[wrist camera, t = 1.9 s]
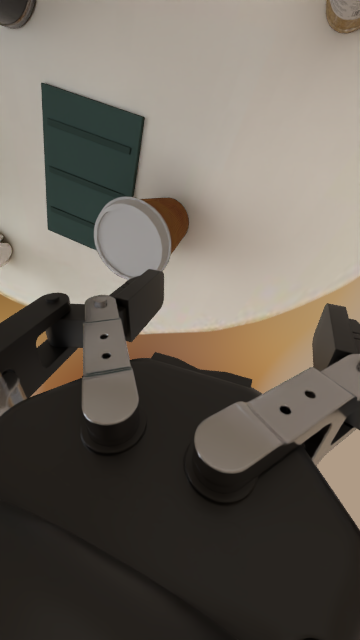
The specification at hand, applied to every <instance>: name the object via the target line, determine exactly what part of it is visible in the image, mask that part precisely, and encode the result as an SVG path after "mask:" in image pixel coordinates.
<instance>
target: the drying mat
mask: <svg viewBox="0 0 360 640" xmlns="http://www.w3.org/2000/svg"><path fill="white" fill-rule="evenodd" d="M41 88H42V110H43V132H44V154H45V177H46V199H47V221H48V230H50V231H53V232H55V233H57V234H60V235H62V236H64V237H67V238H69V239H71V240H74V241H76V242H78V243H81V244H83V245H85V246H88V247H90V248H92V249H95V250H97V249H96V246H95V241H94V227H95V223H96V220H97V218H98V216H99V214H100V212H101V211H102V209H103V208H104V206H105V205H106V204H107V203H109V202H110V201H112V200H114V199H116V198H119V197H133V196H134V189H135V182H136V175H137V167H138V160H139V153H140V146H141V139H142V132H143V125H144V117H142V116H139V115H136V114H133V113H130V112H127V111H124V110H121V109H118V108H116V107H113V106H110V105H107V104H104V103H101V102H98V101H95V100H92V99H89V98H86V97H83V96H80V95H77V94H74V93H71V92H68V91H65V90H62V89H60V88H57V87H54V86H51V85H48V84H45V83H41Z"/></svg>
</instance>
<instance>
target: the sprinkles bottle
mask: <svg viewBox="0 0 360 640" xmlns="http://www.w3.org/2000/svg"><path fill="white" fill-rule="evenodd" d="M326 15H327V20H328V22H329V24H330V26H331V27H332V28H333V29H334V30H336V31H338V32H340V33H349V32H352V31H355V30H357V29H358V28H360V0H327V3H326Z"/></svg>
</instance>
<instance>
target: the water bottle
mask: <svg viewBox="0 0 360 640" xmlns="http://www.w3.org/2000/svg"><path fill="white" fill-rule="evenodd" d="M2 239H3V235H2V234H0V242H1V241H2ZM11 254H12V248H11V246H10V245H9V244H8V243H0V267H2V266H4V265H5V264H6V263H7V262H8V261H9V259H10V256H11Z"/></svg>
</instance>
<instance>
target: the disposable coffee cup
mask: <svg viewBox="0 0 360 640" xmlns="http://www.w3.org/2000/svg"><path fill="white" fill-rule="evenodd" d="M188 225H189V220H188V215H187V212H186V210H185V208H184V207H183V206H182V204H180V203H179V202H178V201H177V200H175V199H172V198H152V199H138V198H135V197H119V198H116V199H114V200H112V201H110V202H109V203H107V204H106V205H105V206H104V208H103V209H102V211H101V212H100V214H99V216H98V218H97V220H96V223H95V227H94V241H95V246H96V249H97V252H98V254H99V256H100V257H101V259H102V261H103V262H104V263H105V265H106V266H107V267H108V268H109V269H110V270H111V271H112V272H114V273H115V274H116V275H118V276H120V277H122V278H124V279H127V280H129V279H131V278H134V277H136V276H140V275H142V274H143V273H144V272H145V271H147V270H148V269H153V270H158V271H163V270H164V269H165V268H166V266H167V264H168V262H169V259H170V255H171V254H172V252H173V251H174V250H175V248H176V247H177V246H178V244H179V243H180V241H181V240H182V238H183V237H184V236H185V234H186V233H187V230H188Z"/></svg>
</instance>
